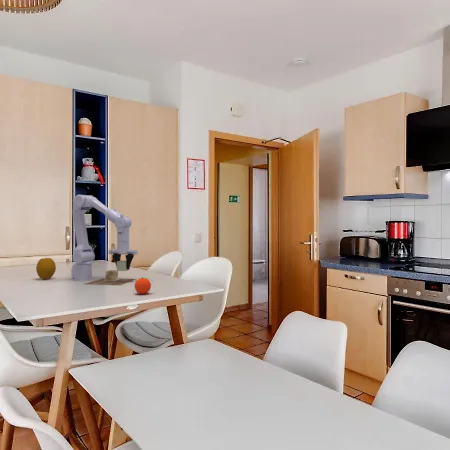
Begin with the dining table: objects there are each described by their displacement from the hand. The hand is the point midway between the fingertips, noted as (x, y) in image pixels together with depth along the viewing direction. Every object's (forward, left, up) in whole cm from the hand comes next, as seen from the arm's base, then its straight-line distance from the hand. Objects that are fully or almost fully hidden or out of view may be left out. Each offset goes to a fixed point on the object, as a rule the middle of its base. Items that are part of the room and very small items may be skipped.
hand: (123, 269), depth 201 cm
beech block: (-8, +5, -6) cm, 12 cm away
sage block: (0, 0, -1) cm, 1 cm away
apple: (-47, +6, -8) cm, 48 cm away
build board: (-6, 0, -7) cm, 10 cm away
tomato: (+20, -23, -8) cm, 31 cm away
